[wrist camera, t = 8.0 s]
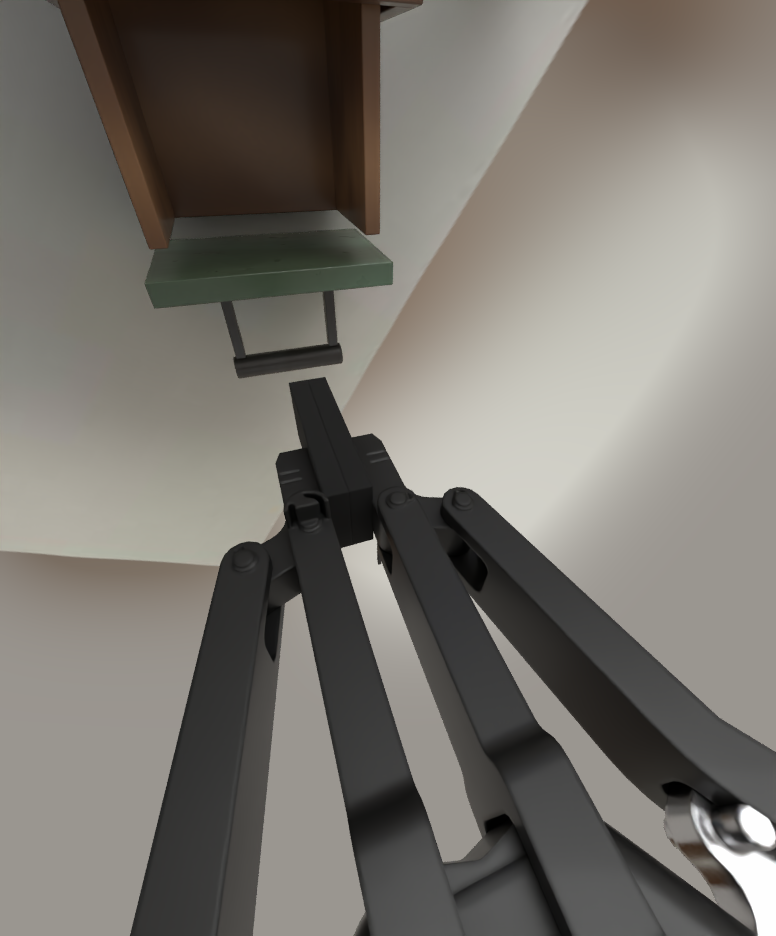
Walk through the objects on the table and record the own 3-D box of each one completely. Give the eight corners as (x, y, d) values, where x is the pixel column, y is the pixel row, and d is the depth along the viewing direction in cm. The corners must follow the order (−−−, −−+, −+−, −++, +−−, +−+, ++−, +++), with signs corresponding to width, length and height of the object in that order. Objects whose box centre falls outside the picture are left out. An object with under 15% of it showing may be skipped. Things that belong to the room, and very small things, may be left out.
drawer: (358, 328, 31) (390, 376, 26) (196, 349, 28) (194, 408, 23) (343, -117, 17) (405, -212, 12) (12, -173, 14) (-105, -336, 9)
